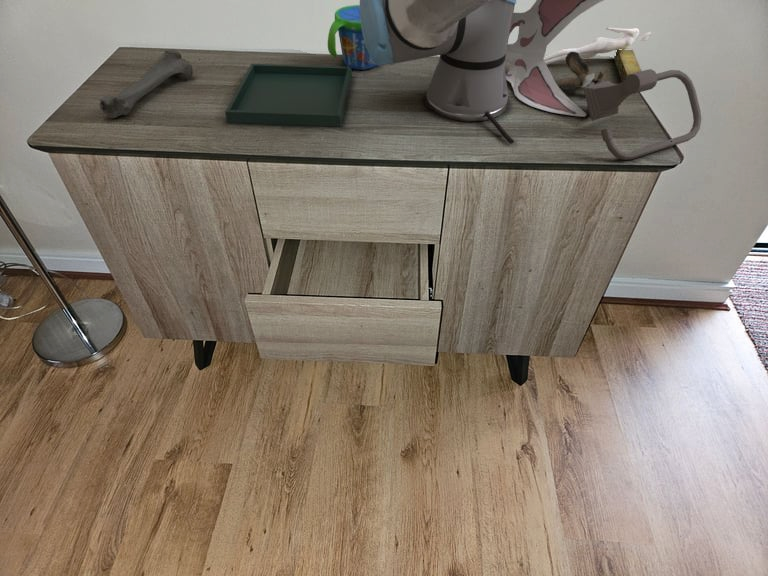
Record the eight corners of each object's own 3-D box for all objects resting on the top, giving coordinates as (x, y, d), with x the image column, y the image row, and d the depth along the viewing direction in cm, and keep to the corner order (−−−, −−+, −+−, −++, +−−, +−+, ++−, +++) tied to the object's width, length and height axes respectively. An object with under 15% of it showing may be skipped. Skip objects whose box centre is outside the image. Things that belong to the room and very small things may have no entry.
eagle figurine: (605, 81, 104) (565, 62, 106) (613, 59, 97) (571, 39, 99) (583, 112, 104) (544, 91, 106) (590, 92, 97) (548, 70, 99)
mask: (467, 104, 119) (597, 125, 103) (440, 95, 110) (579, 116, 93) (492, -4, 113) (636, -1, 97) (466, -25, 103) (621, -25, 87)
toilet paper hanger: (619, 163, 83) (594, 71, 81) (572, 177, 93) (549, 96, 92) (713, 132, 90) (692, 47, 88) (660, 149, 100) (641, 72, 99)
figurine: (546, 65, 104) (663, 29, 105) (541, 46, 104) (659, 11, 105) (529, 82, 115) (636, 50, 115) (525, 66, 115) (632, 34, 115)
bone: (174, 71, 108) (165, 41, 104) (201, 76, 106) (193, 45, 102) (98, 119, 94) (84, 86, 89) (127, 125, 92) (114, 92, 88)
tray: (351, 77, 107) (351, 66, 105) (340, 127, 93) (340, 115, 91) (253, 74, 107) (251, 63, 106) (227, 123, 93) (224, 111, 92)
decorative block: (623, 89, 104) (641, 90, 104) (627, 77, 103) (646, 78, 102) (612, 58, 115) (629, 60, 115) (616, 47, 113) (633, 48, 113)
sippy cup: (378, 48, 118) (378, -2, 110) (405, 64, 111) (407, 13, 104) (317, 63, 111) (313, 12, 104) (342, 81, 105) (340, 28, 98)
